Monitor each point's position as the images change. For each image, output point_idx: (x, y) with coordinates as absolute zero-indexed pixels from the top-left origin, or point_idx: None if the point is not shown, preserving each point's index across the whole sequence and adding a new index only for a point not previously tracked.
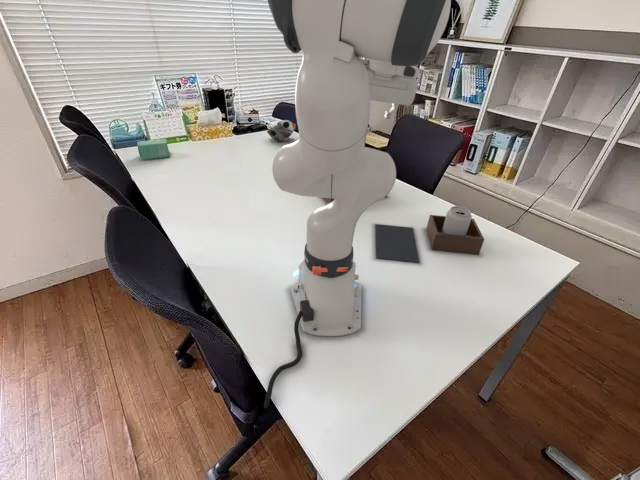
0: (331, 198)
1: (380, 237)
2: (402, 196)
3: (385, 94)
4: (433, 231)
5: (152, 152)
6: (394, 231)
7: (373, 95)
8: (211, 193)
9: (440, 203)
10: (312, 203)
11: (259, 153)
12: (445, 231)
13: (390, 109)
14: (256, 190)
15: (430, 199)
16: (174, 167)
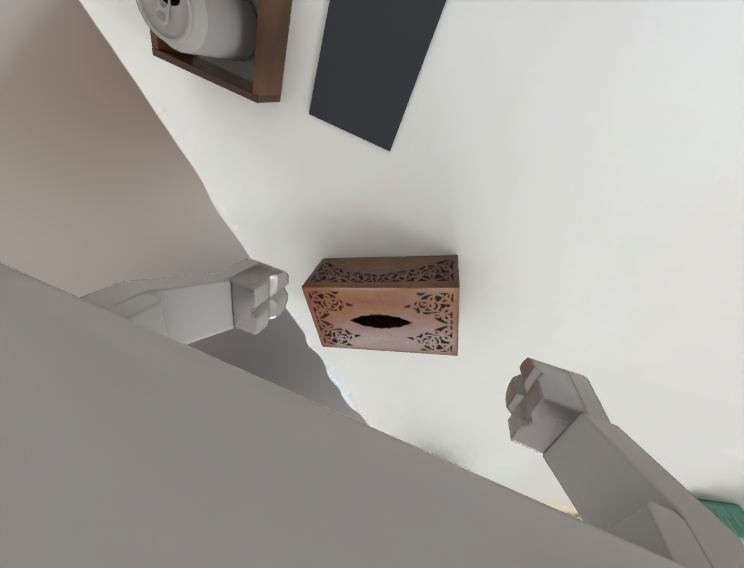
0: (454, 265)
1: (403, 79)
2: (291, 253)
3: (108, 492)
4: (269, 11)
5: (720, 516)
6: (357, 104)
7: (419, 559)
8: (689, 371)
9: (223, 208)
10: (489, 276)
11: (496, 454)
12: (237, 9)
13: (212, 324)
14: (580, 354)
15: (239, 228)
16: (692, 467)
